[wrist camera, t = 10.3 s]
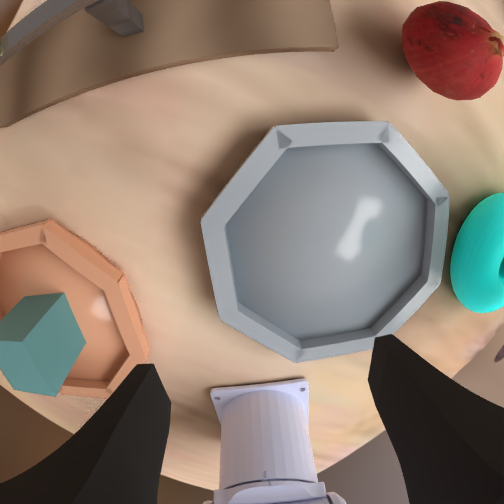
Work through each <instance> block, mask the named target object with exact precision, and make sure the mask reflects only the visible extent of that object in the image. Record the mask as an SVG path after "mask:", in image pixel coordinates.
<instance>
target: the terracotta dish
mask: <svg viewBox="0 0 504 504" xmlns="http://www.w3.org/2000/svg"><path fill="white" fill-rule="evenodd" d="M53 293H65V295H66V298H67V300H68V302H69V305H70V307H71V310H72V312H73V314H74V316H75V319H76V321H77V323H78V325H79V328H80V330H81V332H82V334H83V336H84V338H85V340H86V342H87V343H86V344H85V346H84V348H83V349H82V351H81V353H80V354H79V356H78V358H77V360H76V361H75V363H74V365H73V366H72V368H71V370H70V372H69V373H68V375H67V377H66V379H65V381H64V382H63V384H62V386H61V388H60V390H59V393H61V394H67V395H76V396H86V397H97V398H109V397H110V396H111V394H112V393H113V392H114V391H115V390H116V388H117V387H118V386H119V385H120V384H121V382H122V381H123V380H124V379H125V378H126V376H127V375H128V374H129V373H130V372H131V370H132V369H133V368H134V367H135V366H136V365H137V364H144V363H145V362H146V361H147V358H148V356H149V353H150V346H149V343H148V341H147V338H146V336H145V333H144V330H143V325H142V319H141V316H140V312H139V309H138V307H137V304H136V302H135V299H134V297H133V295H132V293H131V291H130V290H129V287H128V284H127V280H126V277H125V274H123V272H122V271H120V270H119V269H117V268H116V267H115V266H113V265H112V264H111V263H110V262H109V261H108V260H107V259H106V258H105V257H104V256H103V255H102V254H101V253H100V252H99V251H98V250H97V249H95V248H94V247H93V246H92V245H91V244H89V243H88V242H86V241H85V240H83V239H82V238H80V237H79V236H77V235H75V234H73V233H71V232H69V231H67V230H65V229H64V228H62V227H61V226H60V225H59V224H57V223H56V222H55V221H54V220H51V219H50V220H46V221H42V222H38V223H34V224H30V225H27V226H23V227H19V228H16V229H12V230H8V231H5V232H1V233H0V321H1V320H2V318H3V317H4V316H5V315H6V314H7V313H8V312H9V311H10V310H11V309H12V308H13V307H14V306H15V305H16V304H17V303H18V302H19V301H20V300H21V299H22V298H23V297H24V296H32V295H43V294H53Z"/></svg>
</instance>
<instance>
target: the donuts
mask: <svg viewBox="0 0 504 504" xmlns="http://www.w3.org/2000/svg"><path fill="white" fill-rule="evenodd" d="M503 257H504V193H497V194H493V195H491V196H489V197H487V198H485V199H484V200H482V201H481V202H480V203H479V204H478V205H477V206H476V207H475V208H474V209H473V210H472V211H471V212H470V214H469V215H468V216H467V218H466V220H465V221H464V223H463V225H462V227H461V229H460V231H459V233H458V235H457V238H456V241H455V244H454V247H453V251H452V256H451V264H450V276H451V283H452V287H453V291H454V293H455V295H456V297H457V299H458V300H459V302H460V303H461V304H462V305H463V306H464V307H466V308H467V309H469V310H471V311H473V312H478V313H487V312H492V311H495V310H497V309H499V308H501V307H503V306H504V258H503ZM502 259H503V260H502Z"/></svg>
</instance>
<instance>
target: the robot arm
mask: <svg viewBox="0 0 504 504" xmlns="http://www.w3.org/2000/svg"><path fill="white" fill-rule="evenodd" d="M368 382H369V386H370V389H371V393H372V396H373V399H374V402H375V405H376V408H377V410H378V412H379V415H380V417H381V419H382V422H383V424H384V426H385V428H386V431H387V433H388V435H389V437H390V440H391V442H392V445H393V447H394V449H395V452H396V454H397V457H398V460H399V462H400V465H401V469H402V472H403V476H404V480H405V484H406V489H407V493H408V498H409V503H410V504H504V408H503V407H501V406H498V405H496V404H494V403H492V402H490V401H487V400H486V399H484V398H482V397H480V396H478V395H476V394H474V393H473V392H471V391H469V390H468V389H466V388H464V387H462V386H461V385H460V384H458V383H456V382H455V381H454V380H452V379H450V378H449V377H448V376H446V375H445V374H443V373H442V372H440V371H439V370H438V369H436V368H435V367H434V366H432V365H431V364H430V363H428V362H427V361H426V360H424V359H423V358H422V357H420V356H419V355H418V354H417V353H415V352H414V351H413V350H412V349H410V348H409V347H408V346H407V345H405V344H404V343H403V342H401V341H400V340H399V339H398V338H396V337H395V336H394V335H392V334H388V335H384V336H379V337H375V339H374V346H373V353H372V359H371V365H370V370H369V376H368ZM302 387H304V388H302ZM210 396H211V399H212V402H213V405H214V408H215V410H216V413H217V416H218V419H219V422H220V425H221V427H222V428H221V453H220V481H219V490H214V501H205V502H204V503H203V504H347V503H346V502H345V500H344V499H343V498H341V497H340V496H338V494H336V493H335V492H329V493H326V489H325V485H324V482H319V483H318V479H317V474H316V469H315V463H314V458H313V453H312V448H311V443H310V438H309V433H308V381H307V379H304V378H303V379H295V380H288V381H281V382H273V383H264V384H255V385H245V386H234V387H221V388H213V389H211V390H210ZM170 413H171V401H170V399H169V397H168V395H167V393H166V391H165V389H164V386H163V384H162V382H161V380H160V378H159V375H158V373H157V371H156V368H155V366H154V364H137V365H136V366H135V367H134V368H133V369H132V370H131V372H130V373H129V374H128V375H127V376H126V378H125V379H124V380H123V381H122V382H121V384H120V385H119V386H118V387H117V388H116V390H115V391H114V392H113V393H112V394H111V396H110V397H109V398H108V399H107V400H106V401H105V403H104V404H103V405H102V406H101V407H100V408H99V409H98V411H97V412H96V413H95V414H94V415H93V416H92V417H91V418H90V419H89V420H88V421H87V422H86V423H85V424H84V425H83V426H82V428H81V429H80V430H78V431H77V432H76V433H75V434H74V435H73V436H72V437H71V438H70V439H69V440H68V441H66V443H64V444H63V445H62V446H61V447H60V448H58V449H57V450H56V451H54V452H53V453H52V454H50V455H49V456H48V457H46V458H45V459H43V460H42V461H41V462H39V463H38V464H37V465H35V466H33V467H32V468H30V469H28V470H27V471H25V472H23V473H21V474H20V475H18V476H16V477H14V478H12V479H10V480H8V481H5V482H3V483H0V504H157V492H158V484H159V478H160V473H161V468H162V463H163V458H164V453H165V448H166V443H167V438H168V433H169V426H170Z"/></svg>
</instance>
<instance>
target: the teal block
mask: <svg viewBox="0 0 504 504" xmlns="http://www.w3.org/2000/svg"><path fill="white" fill-rule="evenodd" d="M86 343H87V342H86V340H85V338H84V336H83V334H82V332H81V330H80V328H79V325H78V323H77V321H76V319H75V316H74V314H73V312H72V310H71V307H70V305H69V302H68V300H67V298H66V295H65V293H53V294H43V295H32V296H24V297H23V298H22V299H21V300H20V301H19V302H18V303H17V304H16V305H15V306H14V307H13V308H12V309H11V310H10V311H9V312H8V313H7V314H6V315H5V316H4V317H3V318H2V320H1V321H0V369H1V371H2V372H3V374H4V375H5V377H6V378H7V380H8V381H9V383H10V384H11V386H12V387H13V389H14V390H19V391H24V392H29V393H35V394H41V395H48V396H55V397H56V395H57V393H58V392H59V390H60V388H61V386H62V384H63V382H64V381H65V379H66V377H67V375H68V373H69V372H70V370H71V368H72V366H73V365H74V363H75V361H76V360H77V358H78V356H79V354H80V353H81V351H82V349H83V348H84V346H85V344H86Z"/></svg>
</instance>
